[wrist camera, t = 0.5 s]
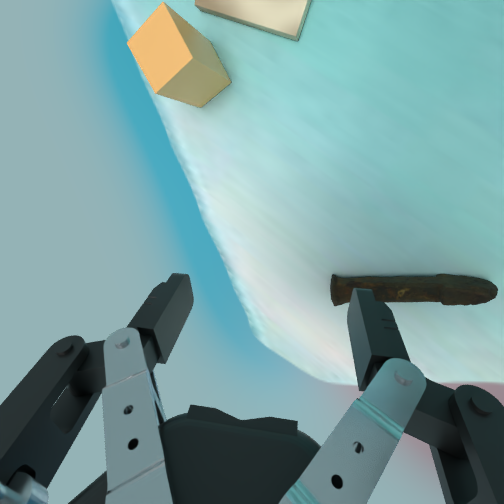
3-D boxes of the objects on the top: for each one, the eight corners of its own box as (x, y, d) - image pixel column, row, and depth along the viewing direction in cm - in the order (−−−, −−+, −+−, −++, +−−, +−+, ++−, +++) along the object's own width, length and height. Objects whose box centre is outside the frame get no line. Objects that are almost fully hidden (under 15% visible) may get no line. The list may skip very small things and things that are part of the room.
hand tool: (331, 295, 41) (330, 312, 36) (330, 271, 39) (329, 285, 35) (484, 299, 34) (504, 319, 30) (489, 271, 33) (510, 288, 29)
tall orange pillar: (210, 41, 34) (162, 1, 25) (231, 82, 35) (193, 57, 26) (180, 70, 36) (126, 43, 27) (200, 108, 37) (155, 93, 28)
